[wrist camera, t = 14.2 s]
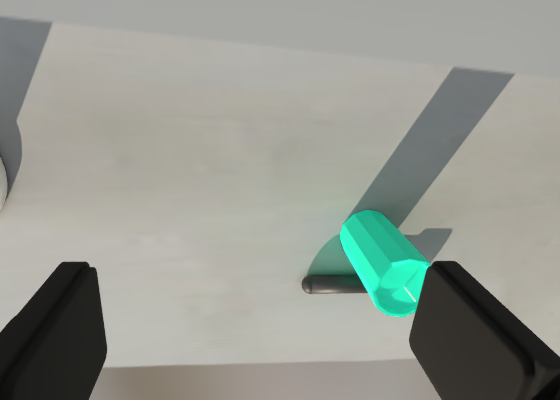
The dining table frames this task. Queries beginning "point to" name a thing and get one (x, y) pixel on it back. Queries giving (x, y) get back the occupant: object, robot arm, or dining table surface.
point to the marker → (333, 284)
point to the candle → (384, 262)
